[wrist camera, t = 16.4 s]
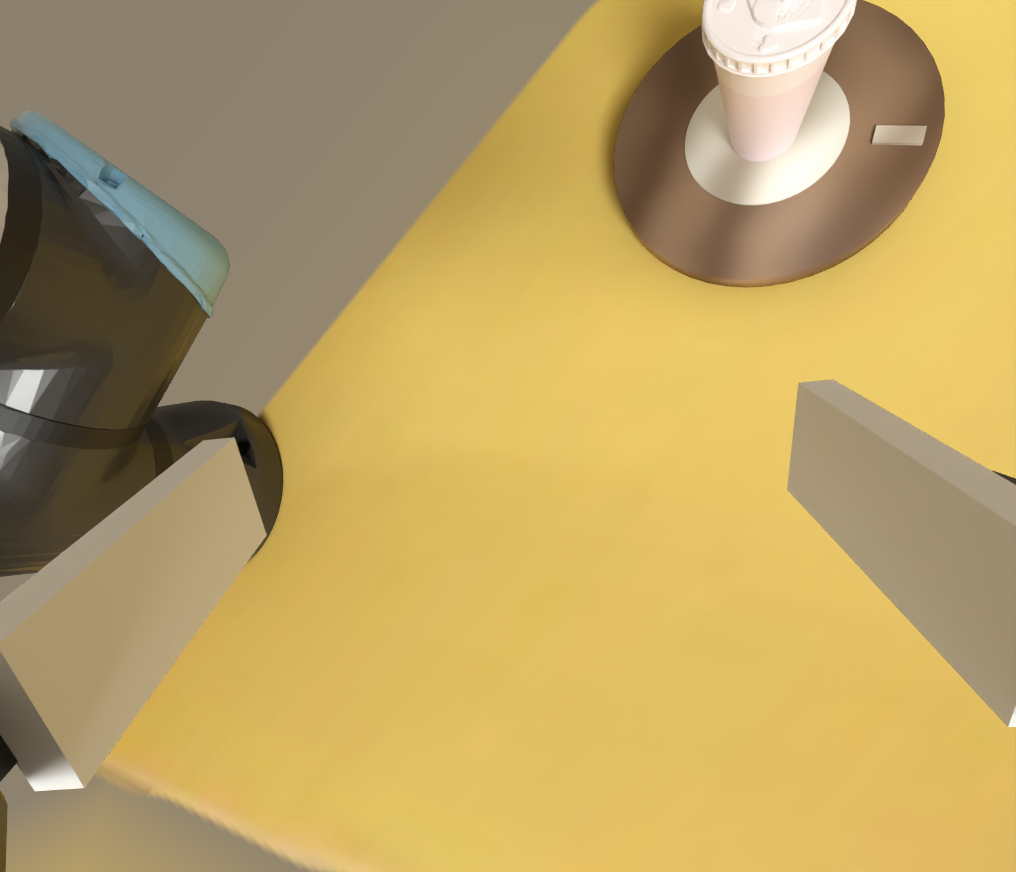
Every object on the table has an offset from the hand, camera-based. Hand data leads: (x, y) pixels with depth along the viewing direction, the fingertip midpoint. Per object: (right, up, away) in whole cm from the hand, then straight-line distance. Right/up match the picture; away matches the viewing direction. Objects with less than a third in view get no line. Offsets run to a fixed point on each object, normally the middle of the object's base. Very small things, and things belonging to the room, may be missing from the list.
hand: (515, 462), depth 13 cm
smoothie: (+15, +19, +20) cm, 32 cm away
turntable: (+16, +19, +22) cm, 33 cm away
